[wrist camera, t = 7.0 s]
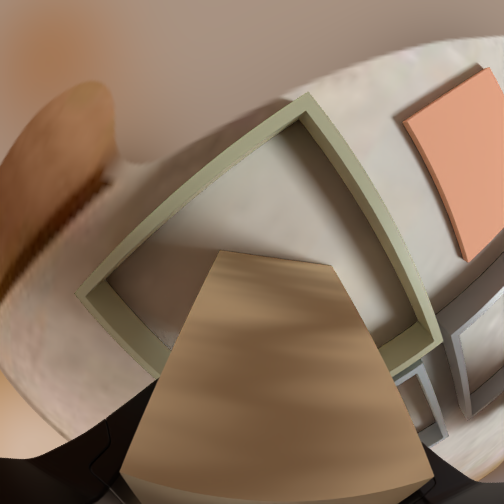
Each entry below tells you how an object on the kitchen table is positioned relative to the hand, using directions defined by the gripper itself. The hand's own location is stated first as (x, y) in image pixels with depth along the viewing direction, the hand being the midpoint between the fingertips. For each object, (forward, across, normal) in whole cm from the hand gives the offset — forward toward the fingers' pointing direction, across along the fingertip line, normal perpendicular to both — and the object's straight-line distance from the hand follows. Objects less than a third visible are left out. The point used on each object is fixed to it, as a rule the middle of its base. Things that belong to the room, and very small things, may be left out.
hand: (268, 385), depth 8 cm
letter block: (+5, 0, 0) cm, 5 cm away
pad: (+5, -10, -10) cm, 15 cm away
